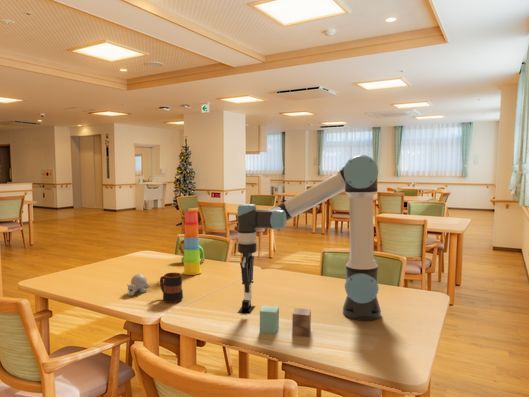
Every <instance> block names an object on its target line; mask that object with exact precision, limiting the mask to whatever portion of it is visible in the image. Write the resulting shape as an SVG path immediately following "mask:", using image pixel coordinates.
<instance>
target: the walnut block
mask: <svg viewBox="0 0 529 397" xmlns="http://www.w3.org/2000/svg"><path fill="white" fill-rule="evenodd" d="M311 311H312V309H311V308H297V307H295V308H294V310H293V312H292V319H291V320H292V322H291V324H292V327H291V328H292V329H291V330H292V334H291V336H293V337H294V336H295V337H303V338H305V337H306V338H310V333H311V331H312V330H311V329H312V327H311V325H312V324H311V323H312V321H311V320H312V319H311V318H312V312H311Z"/></svg>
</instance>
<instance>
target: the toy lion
mask: <svg viewBox="0 0 529 397" xmlns="http://www.w3.org/2000/svg"><path fill="white" fill-rule="evenodd" d="M199 247H200V249H199V252H200V255H199V256H200V259H201V261H200V264H202V263H203V262H204V261H205V259H206V258H205V251H204V249H203V248H204V247H202V246H201V245H199ZM183 248H184V239H181V241H180V242H179V243H178V250H179V251H180V254H182V258H181V262H182V263H183V264H184V262H183V260H184V249H183Z"/></svg>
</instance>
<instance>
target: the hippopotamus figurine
mask: <svg viewBox="0 0 529 397" xmlns="http://www.w3.org/2000/svg"><path fill="white" fill-rule="evenodd" d="M147 280H148V279H147V277H146V276H145V275H144V274H141V273H139V274H138V273H137V274H135V275H134V276H132V278H131V279H130V284H126V286H127V290H128V291H126V292H127V295H128V296H129V297H133V296H134V295H135V293H139V292H140V293H141V294H144V293H145V292H146V291H147V290H148V289H149V288H150V284H149V282H148V281H147Z"/></svg>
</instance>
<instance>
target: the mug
mask: <svg viewBox="0 0 529 397" xmlns="http://www.w3.org/2000/svg"><path fill="white" fill-rule="evenodd" d="M182 277H183V276H182V274H181V273H179V272H167V273H165V274H164V275H163V276H161V277H160V278H159V286H160V289H161V292H162V299H163V301H164V303H166V304H167V303H168V304H176V303H180V302H181V301H182V300H183V298H184V294H183V293H184V292H183V289H182V287H183V286H182V284H183V278H182Z"/></svg>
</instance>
